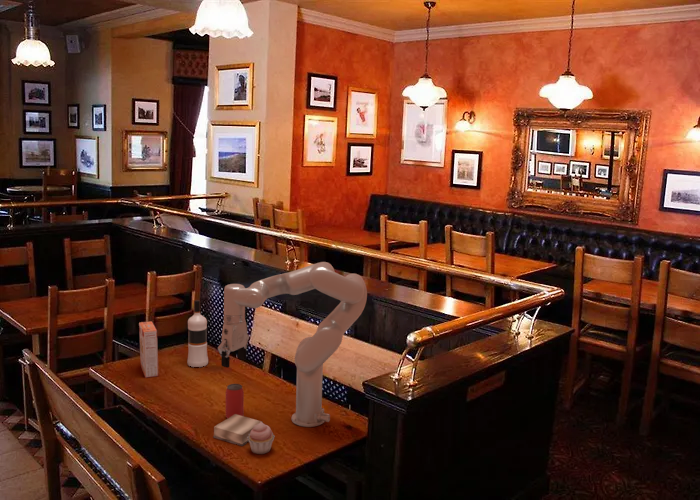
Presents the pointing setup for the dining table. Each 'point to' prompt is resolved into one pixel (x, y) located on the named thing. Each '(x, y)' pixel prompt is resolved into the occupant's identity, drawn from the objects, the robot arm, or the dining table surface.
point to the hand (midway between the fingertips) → (233, 362)
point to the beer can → (234, 400)
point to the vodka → (197, 338)
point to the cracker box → (148, 349)
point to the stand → (235, 429)
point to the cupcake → (261, 438)
